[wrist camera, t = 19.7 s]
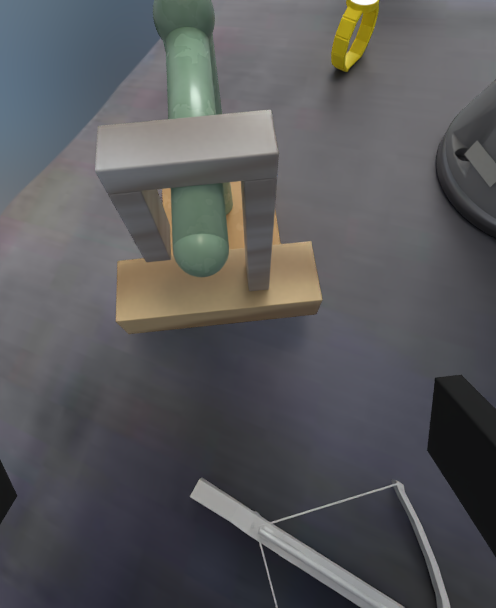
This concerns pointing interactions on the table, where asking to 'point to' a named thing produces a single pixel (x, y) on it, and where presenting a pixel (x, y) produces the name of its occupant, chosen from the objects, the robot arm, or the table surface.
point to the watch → (357, 4)
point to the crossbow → (351, 587)
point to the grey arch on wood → (156, 229)
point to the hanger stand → (192, 103)
